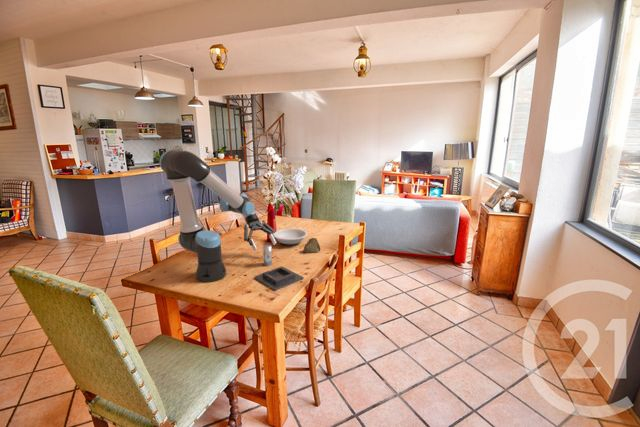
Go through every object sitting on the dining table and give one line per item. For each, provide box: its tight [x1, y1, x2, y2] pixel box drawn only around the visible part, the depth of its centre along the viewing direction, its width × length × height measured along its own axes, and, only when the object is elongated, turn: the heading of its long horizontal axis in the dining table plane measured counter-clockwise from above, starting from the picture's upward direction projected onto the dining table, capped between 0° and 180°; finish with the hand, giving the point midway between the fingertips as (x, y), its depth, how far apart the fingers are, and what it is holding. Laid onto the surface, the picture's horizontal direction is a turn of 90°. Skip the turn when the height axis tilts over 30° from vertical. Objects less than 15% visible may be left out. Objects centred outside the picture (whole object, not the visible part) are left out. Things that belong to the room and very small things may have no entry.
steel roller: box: [262, 244, 273, 267], centre depth 172 cm, size 5×5×11 cm
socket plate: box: [254, 266, 305, 292], centre depth 155 cm, size 18×18×3 cm
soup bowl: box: [273, 228, 308, 245], centre depth 208 cm, size 24×24×7 cm
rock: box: [302, 237, 321, 253], centre depth 193 cm, size 11×9×10 cm
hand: (265, 246), depth 176 cm, fingers open, 13 cm apart
